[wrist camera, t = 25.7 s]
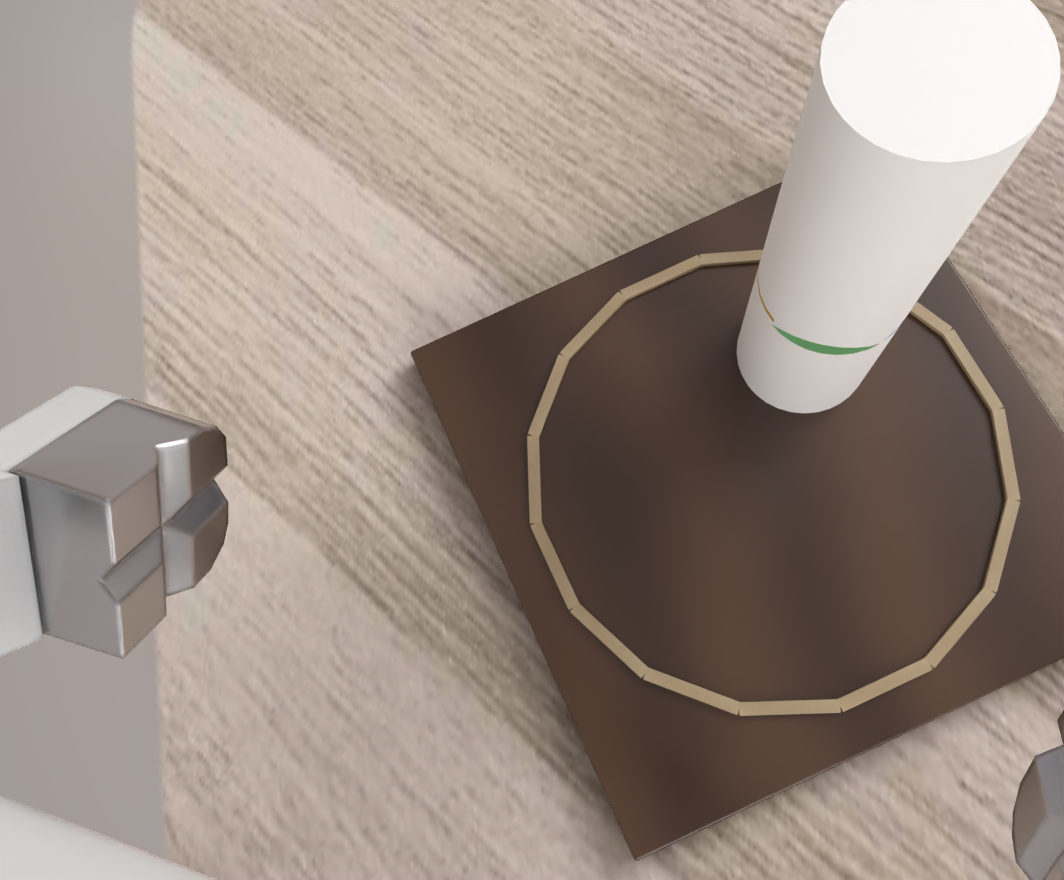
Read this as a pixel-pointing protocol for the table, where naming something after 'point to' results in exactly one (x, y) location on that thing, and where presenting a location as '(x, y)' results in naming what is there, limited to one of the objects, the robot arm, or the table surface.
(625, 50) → the table surface
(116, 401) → the robot arm
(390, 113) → the table surface
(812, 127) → the tube
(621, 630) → the board
